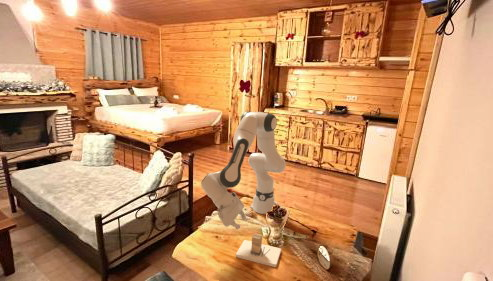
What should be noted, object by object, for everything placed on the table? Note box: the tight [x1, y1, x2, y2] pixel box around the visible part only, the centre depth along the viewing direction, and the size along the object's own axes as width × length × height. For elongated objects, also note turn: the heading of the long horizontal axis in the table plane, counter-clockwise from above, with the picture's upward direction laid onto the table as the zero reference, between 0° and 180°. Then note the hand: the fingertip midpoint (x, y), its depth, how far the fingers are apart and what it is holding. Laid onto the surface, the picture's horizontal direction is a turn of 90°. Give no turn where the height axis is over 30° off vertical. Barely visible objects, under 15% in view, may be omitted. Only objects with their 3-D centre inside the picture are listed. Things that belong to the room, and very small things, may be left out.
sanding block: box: [250, 232, 263, 256], centre depth 126 cm, size 5×5×9 cm
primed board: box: [235, 239, 282, 268], centre depth 128 cm, size 13×20×2 cm, turn 72°
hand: (242, 223), depth 128 cm, fingers open, 8 cm apart
